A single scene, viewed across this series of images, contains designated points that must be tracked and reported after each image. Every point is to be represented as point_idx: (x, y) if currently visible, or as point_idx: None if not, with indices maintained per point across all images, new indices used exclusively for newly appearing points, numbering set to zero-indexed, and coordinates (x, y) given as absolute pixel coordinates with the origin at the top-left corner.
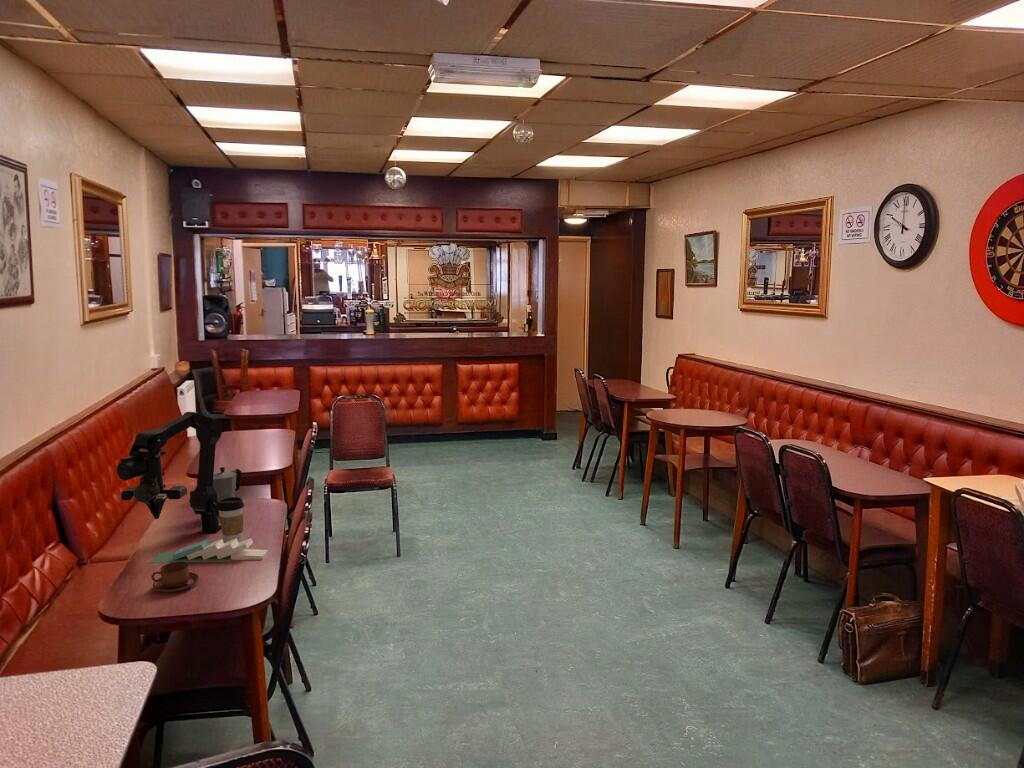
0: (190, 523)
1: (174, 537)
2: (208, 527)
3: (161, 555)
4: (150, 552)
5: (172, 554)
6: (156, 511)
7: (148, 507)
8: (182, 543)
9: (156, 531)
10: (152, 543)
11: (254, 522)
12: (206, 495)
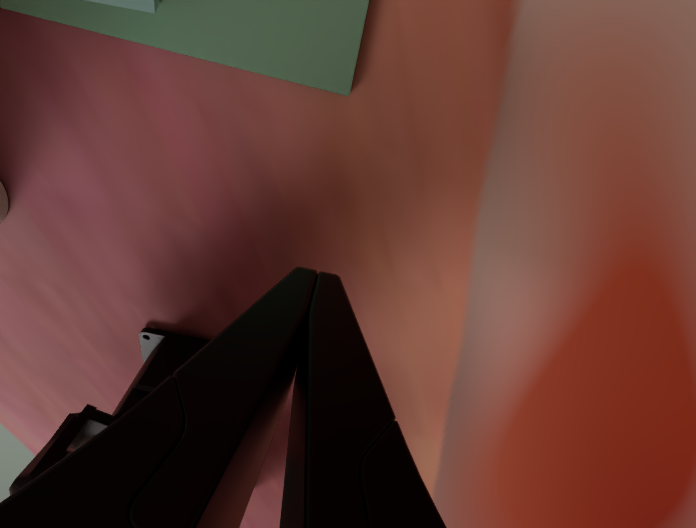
0: None
1: None
2: (158, 355)
3: (323, 13)
4: (433, 153)
5: (237, 14)
6: (242, 356)
7: (431, 506)
8: (267, 249)
9: (443, 414)
10: (441, 294)
11: (44, 388)
12: None
